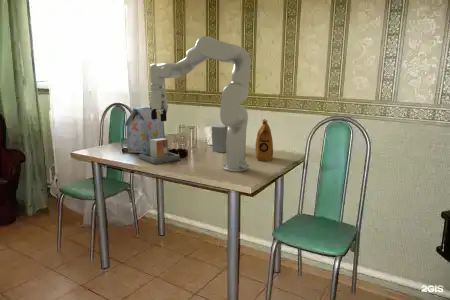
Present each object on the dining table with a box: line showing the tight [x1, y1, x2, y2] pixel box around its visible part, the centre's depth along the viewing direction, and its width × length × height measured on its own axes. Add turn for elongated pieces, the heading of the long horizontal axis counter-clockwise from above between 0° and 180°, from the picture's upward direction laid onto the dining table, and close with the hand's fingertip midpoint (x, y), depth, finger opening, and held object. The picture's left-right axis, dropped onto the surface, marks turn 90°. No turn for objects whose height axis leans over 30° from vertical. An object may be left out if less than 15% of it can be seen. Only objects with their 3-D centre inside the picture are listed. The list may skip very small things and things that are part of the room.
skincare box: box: [210, 124, 228, 153], centre depth 216 cm, size 8×7×16 cm
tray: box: [138, 151, 181, 165], centre depth 195 cm, size 16×16×3 cm
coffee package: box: [255, 118, 274, 162], centre depth 198 cm, size 10×12×22 cm
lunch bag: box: [124, 106, 166, 154], centre depth 216 cm, size 22×17×26 cm
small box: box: [150, 138, 169, 159], centre depth 194 cm, size 8×6×10 cm
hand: (158, 120), depth 191 cm, fingers open, 9 cm apart
